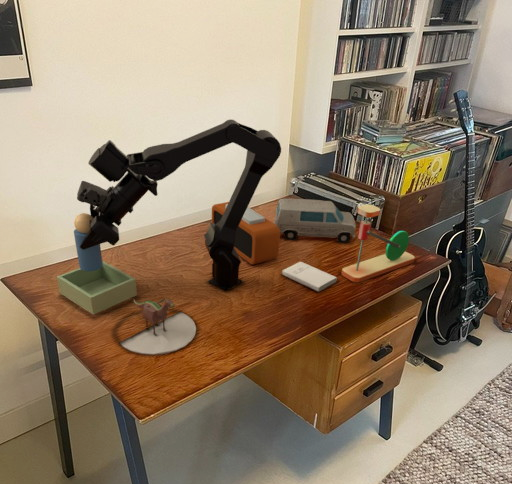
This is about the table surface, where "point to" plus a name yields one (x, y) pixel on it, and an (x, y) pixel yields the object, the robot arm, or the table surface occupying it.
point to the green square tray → (97, 287)
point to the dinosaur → (161, 330)
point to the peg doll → (90, 256)
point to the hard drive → (309, 276)
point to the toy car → (313, 220)
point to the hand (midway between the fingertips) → (81, 242)
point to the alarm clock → (252, 235)
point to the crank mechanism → (384, 262)
